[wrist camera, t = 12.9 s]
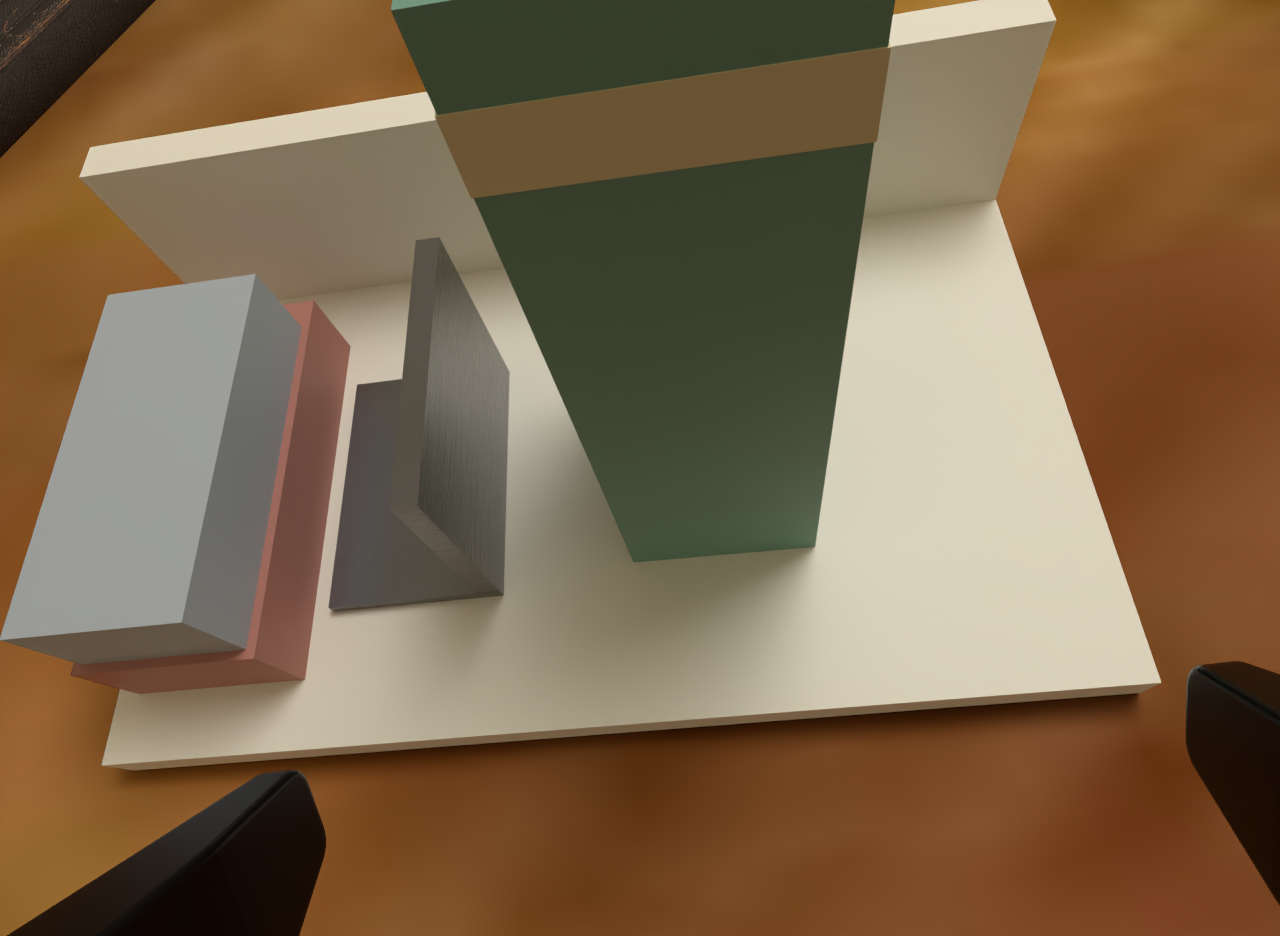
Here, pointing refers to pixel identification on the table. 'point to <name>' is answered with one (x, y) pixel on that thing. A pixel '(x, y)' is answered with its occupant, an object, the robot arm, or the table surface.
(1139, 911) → the table surface
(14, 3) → the hardcover book
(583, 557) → the cream piece
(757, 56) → the green box
